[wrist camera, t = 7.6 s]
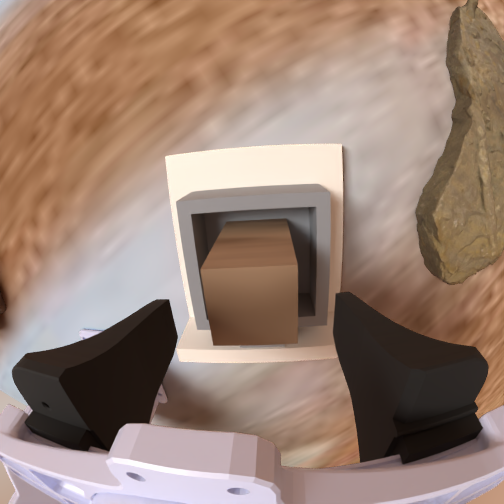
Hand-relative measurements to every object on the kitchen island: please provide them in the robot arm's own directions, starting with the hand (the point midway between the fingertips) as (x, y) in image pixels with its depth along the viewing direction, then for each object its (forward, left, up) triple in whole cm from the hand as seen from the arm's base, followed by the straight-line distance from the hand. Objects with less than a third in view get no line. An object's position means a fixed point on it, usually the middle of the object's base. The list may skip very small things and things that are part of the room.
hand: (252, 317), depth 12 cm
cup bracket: (0, 0, -10) cm, 10 cm away
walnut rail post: (0, 0, -8) cm, 9 cm away
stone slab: (+9, -20, -10) cm, 24 cm away
